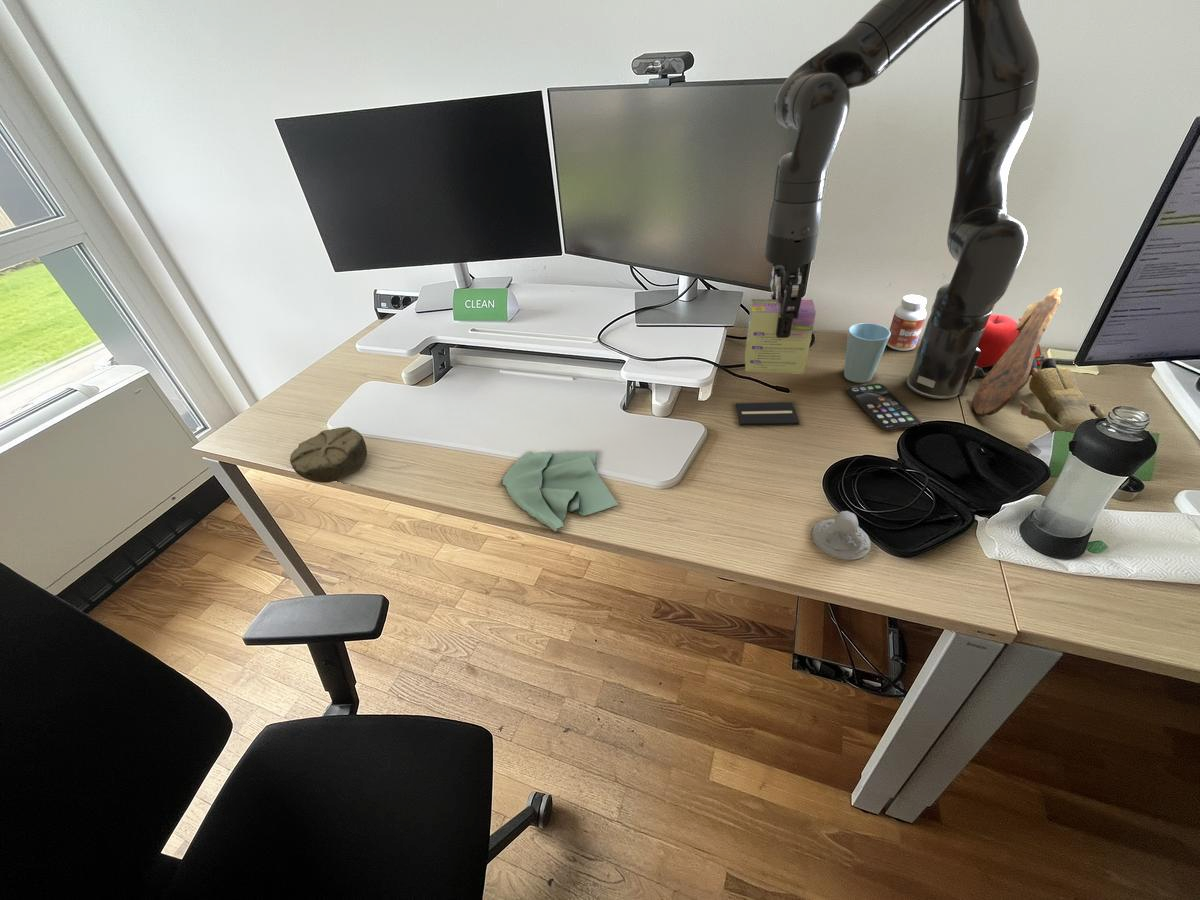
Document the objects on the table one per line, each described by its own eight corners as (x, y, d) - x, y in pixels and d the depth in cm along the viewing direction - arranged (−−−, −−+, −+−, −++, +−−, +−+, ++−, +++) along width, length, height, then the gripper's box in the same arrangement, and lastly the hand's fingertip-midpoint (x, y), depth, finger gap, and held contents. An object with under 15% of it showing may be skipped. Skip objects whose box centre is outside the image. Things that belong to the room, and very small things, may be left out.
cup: (870, 389, 107) (882, 343, 101) (832, 379, 112) (842, 334, 105) (883, 373, 112) (896, 328, 105) (846, 364, 116) (857, 319, 109)
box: (801, 358, 98) (812, 298, 91) (804, 374, 94) (816, 312, 86) (744, 357, 100) (750, 298, 93) (744, 372, 96) (751, 311, 88)
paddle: (956, 410, 100) (1029, 296, 106) (970, 421, 100) (1042, 307, 106) (993, 401, 92) (1070, 277, 97) (1008, 413, 92) (1084, 289, 97)
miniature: (872, 527, 79) (880, 505, 76) (868, 566, 74) (877, 543, 71) (815, 514, 82) (821, 492, 79) (808, 551, 77) (814, 528, 74)
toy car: (1046, 366, 109) (1026, 371, 111) (1038, 346, 111) (1020, 351, 113) (1038, 332, 101) (1018, 338, 103) (1031, 312, 104) (1011, 318, 106)
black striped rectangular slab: (791, 404, 106) (792, 401, 105) (799, 424, 100) (799, 422, 100) (735, 405, 107) (736, 402, 107) (740, 425, 102) (740, 423, 101)
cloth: (518, 448, 102) (515, 438, 100) (630, 454, 97) (629, 444, 96) (479, 526, 86) (476, 515, 85) (610, 537, 82) (609, 526, 80)
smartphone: (881, 382, 108) (923, 424, 96) (880, 385, 108) (922, 427, 96) (845, 387, 108) (884, 429, 96) (845, 389, 108) (883, 432, 96)
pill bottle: (894, 353, 118) (908, 306, 111) (880, 340, 123) (893, 294, 116) (921, 350, 118) (937, 302, 111) (906, 337, 123) (920, 291, 116)
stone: (373, 437, 99) (384, 459, 102) (339, 417, 106) (350, 438, 109) (307, 476, 91) (320, 498, 95) (276, 451, 99) (290, 473, 102)
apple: (979, 348, 116) (998, 301, 109) (1017, 368, 109) (1040, 319, 102) (940, 357, 114) (958, 310, 108) (976, 378, 107) (997, 329, 100)
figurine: (993, 390, 104) (1050, 510, 84) (1012, 351, 97) (1078, 471, 77) (1061, 390, 101) (1136, 515, 81) (1084, 350, 94) (1173, 475, 74)
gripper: (761, 217, 88) (751, 311, 98) (776, 245, 77) (763, 348, 87) (808, 214, 87) (792, 310, 97) (830, 242, 76) (810, 347, 86)
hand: (779, 327), depth 92 cm, fingers closed on box, 6 cm apart
